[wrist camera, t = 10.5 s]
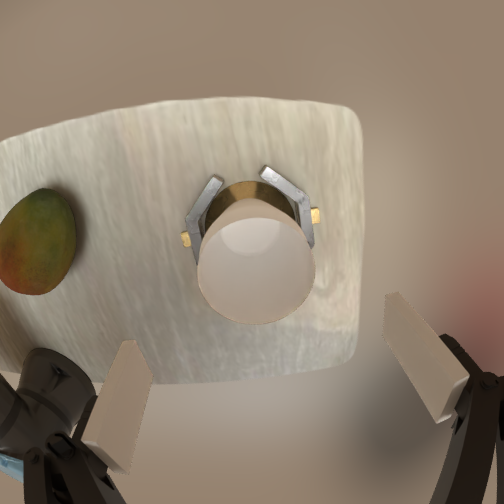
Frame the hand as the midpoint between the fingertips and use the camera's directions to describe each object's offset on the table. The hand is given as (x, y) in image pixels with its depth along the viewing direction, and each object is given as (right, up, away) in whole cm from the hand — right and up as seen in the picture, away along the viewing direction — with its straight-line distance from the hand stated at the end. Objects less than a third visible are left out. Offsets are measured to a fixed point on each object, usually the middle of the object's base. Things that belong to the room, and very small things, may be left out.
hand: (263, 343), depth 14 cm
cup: (-1, +7, +19) cm, 20 cm away
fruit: (-26, +8, +17) cm, 32 cm away
